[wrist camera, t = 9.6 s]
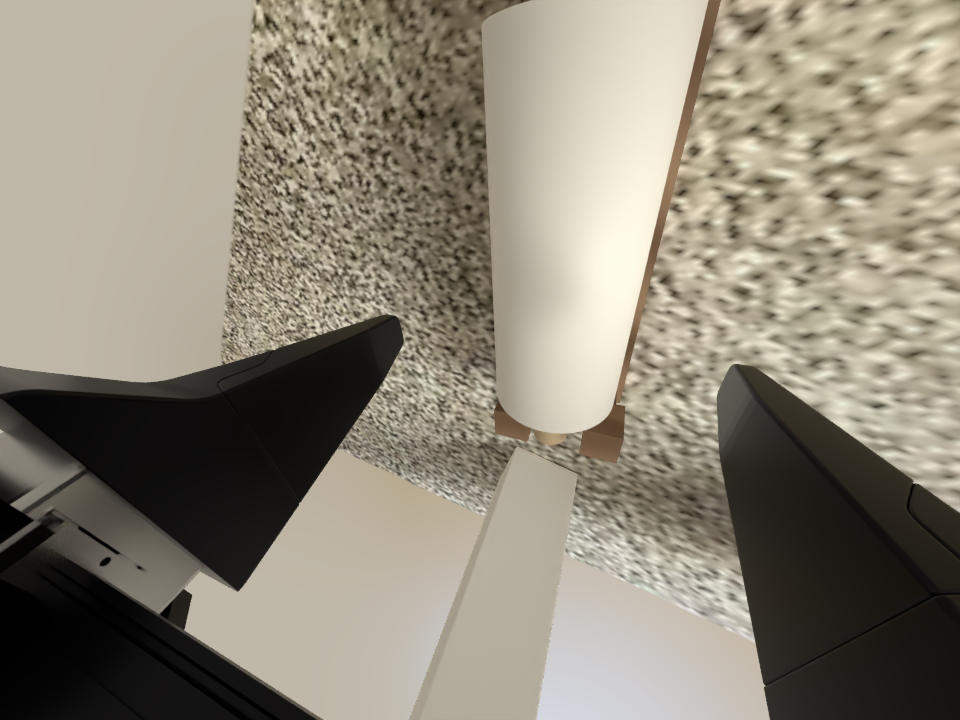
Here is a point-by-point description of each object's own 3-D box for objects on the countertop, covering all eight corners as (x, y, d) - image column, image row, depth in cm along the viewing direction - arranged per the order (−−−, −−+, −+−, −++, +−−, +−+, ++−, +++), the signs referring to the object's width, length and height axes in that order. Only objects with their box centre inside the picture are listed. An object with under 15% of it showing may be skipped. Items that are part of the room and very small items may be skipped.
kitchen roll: (624, 431, 21) (560, 498, 17) (542, 384, 25) (477, 432, 21) (805, -216, 8) (691, -431, 4) (572, -95, 12) (420, -163, 8)
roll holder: (620, 393, 24) (614, 468, 19) (522, 375, 26) (495, 438, 21) (749, -129, 11) (839, -319, 6) (530, -73, 13) (464, -178, 8)
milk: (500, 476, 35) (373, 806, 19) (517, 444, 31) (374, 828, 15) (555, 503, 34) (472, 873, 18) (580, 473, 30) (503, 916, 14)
